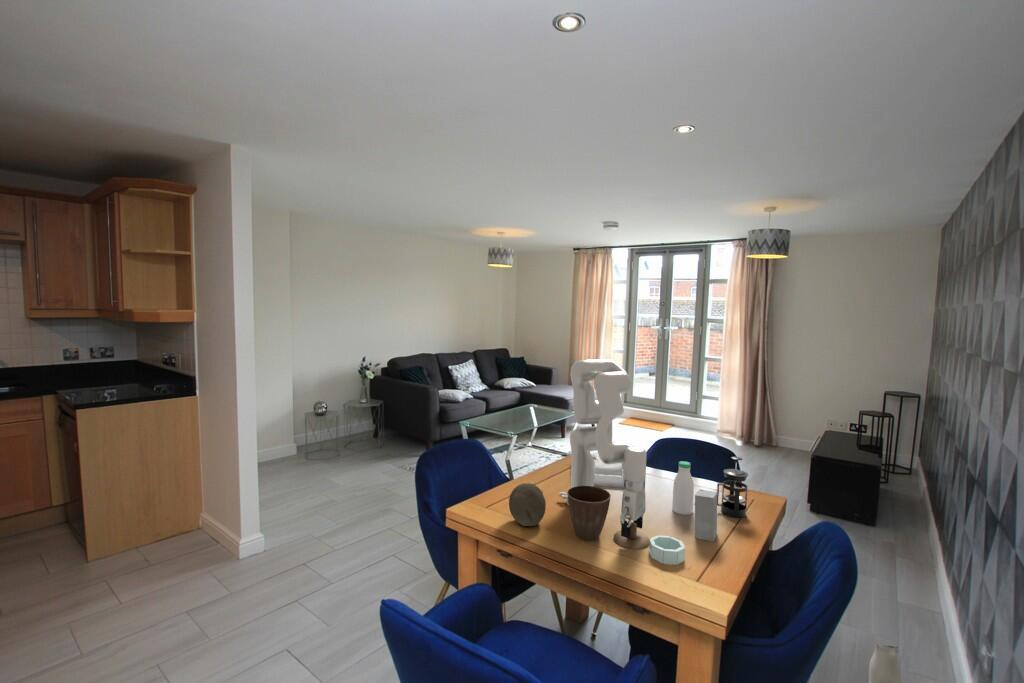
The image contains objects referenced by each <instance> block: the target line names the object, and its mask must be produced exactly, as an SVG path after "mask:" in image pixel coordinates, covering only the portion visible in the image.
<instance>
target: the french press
mask: <svg viewBox="0 0 1024 683" xmlns="http://www.w3.org/2000/svg"><path fill="white" fill-rule="evenodd" d="M730 459H731V460H734V463H735V468H727V469H724V470H723V474H724V475H723V476H724V478H725V479H727V480H724V481H723V482H717V485H716V486H717V487H716V492H717V507H721V509H720V513H721V514H723V516H726V517H729V518H733V519H745V518H746V517H747V503H748V485H747V484H746V483H743V482H745V481H746V479H747V477H749V473H748V472H746V471H744V470H740V469H737V466H738V465H737V464H738V463H739V462H738V461H742V460H743V458H742V457H739V456H731V457H730ZM720 486H722V491H721V503H719V497H720V496H719V493H720ZM737 486H740V487H742V488H737ZM725 490H727V491H729V494H724V493H725ZM744 492H745V495H744V497H743V496H741V494H740V493H744Z"/></svg>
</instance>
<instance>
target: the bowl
mask: <svg viewBox="0 0 1024 683" xmlns="http://www.w3.org/2000/svg"><path fill="white" fill-rule="evenodd" d="M649 540H650V542H649V548H648V554H649V555H650V558H651V559H653V560H655V561H657V562H658V563H661V564H662V563H663V565H672V564H673V565H677V566H678V565H679V564H682V563H683V562H685V559H686V558H685V557H686V546H685V544H684V541H682V540H680V539H678V538H675V537H674V536H669V535H660V534H659V535H658V534H657V535H655V536H653V537H651V538H649Z"/></svg>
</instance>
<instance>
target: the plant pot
mask: <svg viewBox="0 0 1024 683" xmlns="http://www.w3.org/2000/svg"><path fill="white" fill-rule="evenodd" d="M566 493H568V502H569V505H568V507H569V515H570V518H571V522H572V523H571V524H572V525H573V529H574V532H575V535H576V537H577V538H578V537H579V538H578V539H580V540H582V539H583V540H582V541H586V540H587V542H594V541H596V540H598V539H599V538H600V536H601V533H602V531H603V529H604V526H605V523H606V520H607V516H608V512H609V508H610V502H611V497H612V495H611V493H610V492H609V491H607V490H606V489H604V488H601V487H598V486H595V485H594V486H577V487H573V488H571V487H570V488H569V489H568V490H567V492H566ZM593 540H594V541H593Z"/></svg>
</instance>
